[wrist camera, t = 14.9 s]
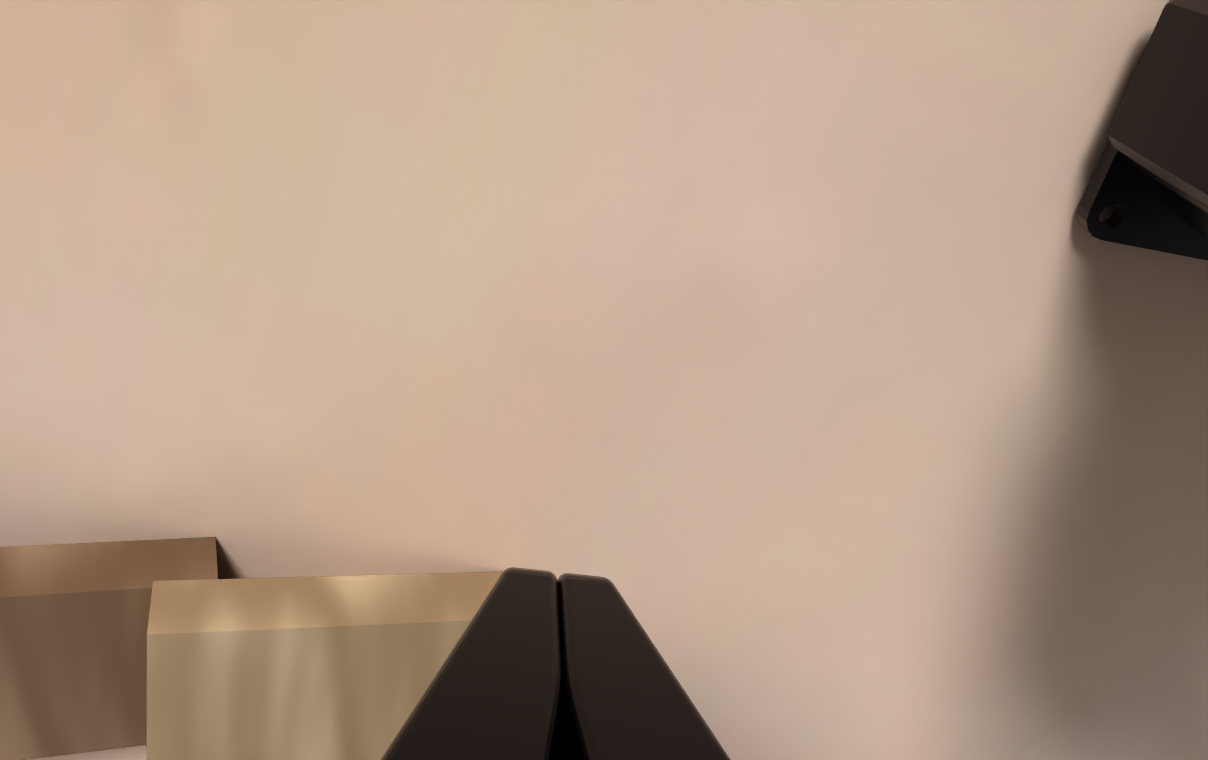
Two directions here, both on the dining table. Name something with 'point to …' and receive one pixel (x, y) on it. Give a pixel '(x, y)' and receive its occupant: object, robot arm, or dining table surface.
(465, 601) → the domino
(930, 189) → the dining table surface
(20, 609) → the domino
